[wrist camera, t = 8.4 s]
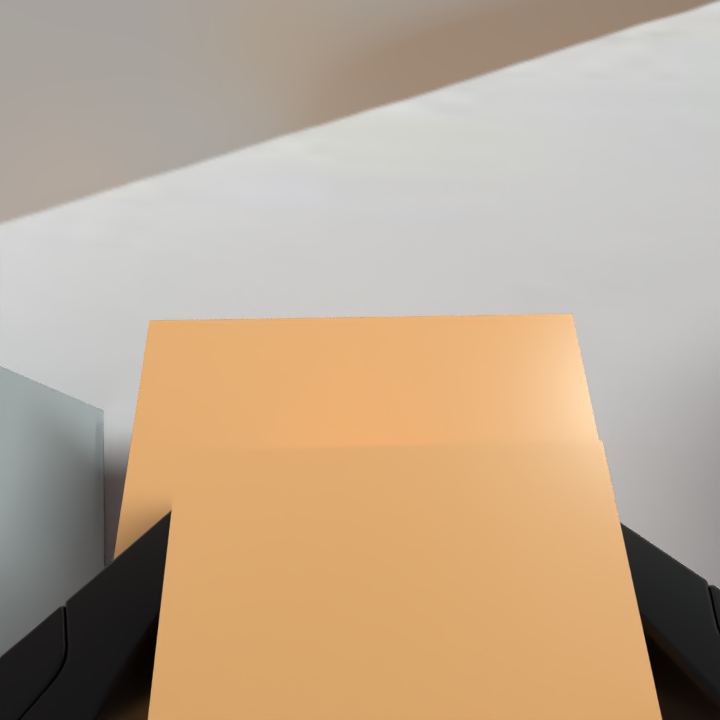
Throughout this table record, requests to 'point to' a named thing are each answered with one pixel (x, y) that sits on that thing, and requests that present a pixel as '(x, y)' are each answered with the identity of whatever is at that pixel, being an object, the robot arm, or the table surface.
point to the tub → (46, 501)
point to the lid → (382, 523)
